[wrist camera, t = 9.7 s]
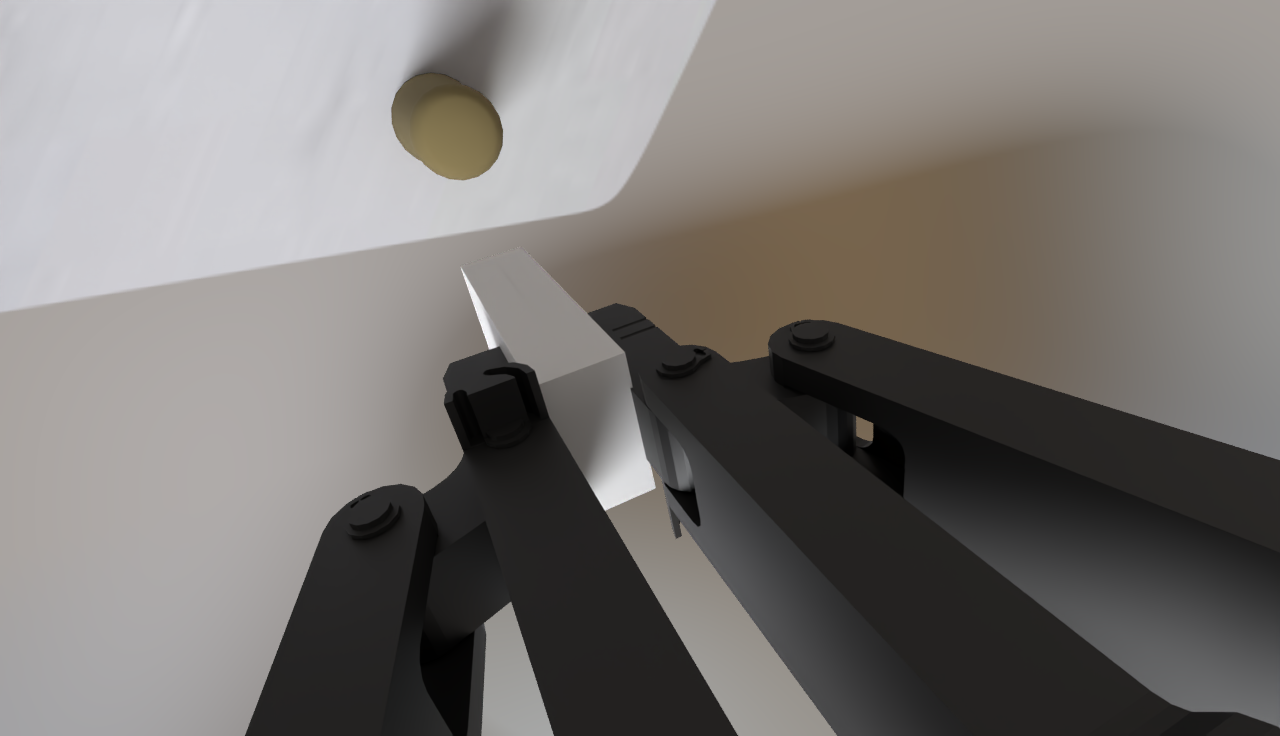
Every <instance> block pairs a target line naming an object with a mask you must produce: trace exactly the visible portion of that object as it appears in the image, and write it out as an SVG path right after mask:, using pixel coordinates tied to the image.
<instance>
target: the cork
mask: <svg viewBox="0 0 1280 736" xmlns="http://www.w3.org/2000/svg"><path fill="white" fill-rule="evenodd" d="M391 111H392V125H393V128H394V131H395V134H396V137H397V138H398V140H399V141H400V143H401V144H402V146H403V147H404V148H405V150H406V151H408V152H409V153H410V154H411V155H413V156H414V157H415V158H416V159H418V160H421V161H422V162H423V163H424V165H426V166H427V167H428V168H430V169H431V170H432V171H433V172H435V173H436V174H438V175H441V176H443V177H446V178H448V179H454V180H467V179H471V178H475V177H478V176H480V175H481V174H483V173H484V172H486V171H487V170H489V169H490V168H491V166H492V165H493V164H494V163H495V161H496V160H497V159H498V156H499V153H500V151H501V148H502V143H503V129H502V125H501V121H500V117H499V115H498V113H497V112H496V110H495V108H494V107H493V105H492V103H491V102H490V101H489V100H488V99H487V98H486V97H484V96H483V95H482V94H481V93H480V92H478V91H476V90H474V89H472V88H470V87H468V86H466V85H462V84H461V83H460V82H459V81H457V80H455V79H453V78H451V77H449V76H446V75H443V74H436V73H426V74H422V75H417V76H415V77H413V78H412V79H410V80H408V81H407V82H405V83H404V84H403V85H402V87H401V88H400V89H399V91H398V92H397V93H396V95H395V98H394V101H393V105H392V108H391Z"/></svg>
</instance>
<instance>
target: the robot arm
mask: <svg viewBox="0 0 1280 736" xmlns="http://www.w3.org/2000/svg"><path fill="white" fill-rule="evenodd" d="M461 270H462V272H463V275H464V278H465V281H466V284H467V287H468V290H469V292H470V295H471V298H472V301H473V303H474V306H475V310H476V312H477V315H478V318H479V321H480V324H481V327H482V330H483V332H484V335H485V338H486V341H487V344H488V347H489V350H487V351H484V352H481V353H479V354H476V355H473V356H470V357H467V358H465V359H462V360H459V361H456V362H453V363H451V364H450V365H449V367H448V369H447V371H446V373H445V375H444V377H443V380H444V383H445V386H446V390H447V393H446V394H445V399H444V405H445V408H446V410H447V413H448V415H449V418H450V420H451V422H452V425H453V427H454V429H455V432H456V434H457V437H458V439H459V442H460V444H461V446H462V449H463V452H464V454H463V458H462V460H461V462H460V463H459V465H458V466H457V468H456V469H455V470H454V471H453V472H452V473H451V474H450V475H449V476H448V477H447V478H446V479H445V480H443V481H442V482H441V483H439V484H438V485H437V486H435V487H434V488H432V489H431V490H429V491H428V492H426V493H424V494H422V493H421V492H420V491H419V490H417V488H415V487H413V486H408V485H402V484H398V485H390V486H383V487H380V488H377V489H375V490H372V491H369V492H366V493H364V494H362V495H360V496H358V497H357V498H355V499H354V500H352V501H350V502H349V503H348V504H346V505H345V506H344V507H343V508H342V509H341V510H340V511H338V512H337V513H336V514H335V515H334V516H333V517H332V518H331V520H330V521H329V523H328V524H327V526H326V528H325V529H324V531H323V533H322V535H321V538H320V541H319V543H318V546H317V548H316V551H315V554H314V556H313V559H312V562H311V564H310V567H309V570H308V572H307V575H306V578H305V580H304V582H303V585H302V588H301V591H300V593H299V596H298V598H297V601H296V604H295V606H294V609H293V612H292V614H291V617H290V619H289V622H288V624H287V627H286V630H285V632H284V636H283V638H282V640H281V643H280V645H279V648H278V651H277V654H276V656H275V659H274V661H273V664H272V666H271V669H270V672H269V674H268V677H267V680H266V682H265V685H264V687H263V690H262V693H261V695H260V698H259V700H258V703H257V706H256V708H255V711H254V714H253V716H252V719H251V722H250V724H249V727H248V729H247V732H246V735H245V736H481V729H482V710H483V690H484V669H485V649H486V648H485V647H486V631H485V626H484V622H486V621H487V620H488V619H489V618H491V617H492V616H493V615H494V614H496V613H497V612H498V611H499V610H500V609H502V608H503V607H504V606H505V605H507V604H508V603H509V602H512V605H513V608H514V611H515V615H516V618H517V621H518V624H519V627H520V630H521V634H522V637H523V640H524V643H525V646H526V649H527V652H528V655H529V659H530V662H531V665H532V668H533V671H534V674H535V677H536V680H537V684H538V687H539V690H540V693H541V696H542V699H543V702H544V706H545V709H546V712H547V715H548V718H549V721H550V724H551V728H552V731H553V734H554V736H738V735H737V733H736V732H735V730H734V728H733V727H732V725H731V723H730V722H729V720H728V718H727V717H726V715H725V713H724V711H723V710H722V708H721V707H720V705H719V703H718V701H717V700H716V698H715V696H714V694H713V693H712V691H711V689H710V688H709V686H708V684H707V683H706V681H705V679H704V677H703V676H702V674H701V672H700V671H699V669H698V667H697V666H696V664H695V662H694V661H693V659H692V657H691V656H690V654H689V652H688V650H687V649H686V647H685V645H684V644H683V642H682V640H681V639H680V637H679V635H678V634H677V632H676V630H675V629H674V627H673V625H672V623H671V622H670V620H669V618H668V617H667V615H666V613H665V612H664V610H663V608H662V607H661V605H660V603H659V602H658V600H657V598H656V596H655V595H654V593H653V591H652V590H651V588H650V586H649V585H648V583H647V581H646V579H645V578H644V576H643V574H642V573H641V571H640V569H639V568H638V566H637V564H636V563H635V561H634V559H633V558H632V556H631V554H630V553H629V551H628V549H627V547H626V546H625V544H624V542H623V541H622V539H621V537H620V536H619V534H618V532H617V530H616V529H615V527H614V525H613V524H612V522H611V520H610V519H609V517H608V515H607V514H606V512H605V510H607V509H609V508H612V507H614V506H616V505H619V504H621V503H623V502H625V501H628V500H630V499H632V498H634V497H637V496H639V495H641V494H643V493H646V492H648V491H650V490H652V489H655V484H654V480H653V475H652V470H651V466H650V464H651V465H652V467H653V468H654V469H655V471H656V472H657V473H658V474H659V476H660V477H661V479H662V483H663V488H664V492H665V497H666V502H667V506H668V511H669V515H670V520H671V525H672V529H673V532H674V534H675V537H676V538H678V537H681V536H682V535H681V530H680V525H679V524H680V521H681V523H682V524H683V525H684V527H685V528H686V529H687V531H688V532H689V534H690V535H691V536H692V538H693V539H694V540H695V542H696V543H697V545H698V546H699V547H700V549H701V550H702V551H703V553H704V554H705V556H706V557H707V558H708V560H709V561H710V562H711V564H712V565H713V566H714V568H715V569H716V571H717V572H718V573H719V575H720V576H721V577H722V579H723V580H724V582H725V583H726V584H727V586H728V587H729V588H730V589H731V591H732V592H733V594H734V595H735V597H736V598H737V599H738V601H739V602H740V603H741V605H742V606H743V607H744V609H745V610H746V612H747V613H748V614H749V615H750V617H751V618H752V620H753V621H754V623H755V624H756V625H757V626H758V628H759V629H760V631H761V632H762V633H763V635H764V636H765V637H766V639H767V640H768V642H769V643H770V644H771V646H772V647H773V648H774V650H775V651H776V653H777V654H778V655H779V657H780V658H781V659H782V661H783V662H784V663H785V665H786V666H787V667H788V669H789V670H790V672H791V673H792V674H793V676H794V677H795V678H796V680H797V681H798V682H799V684H800V685H801V687H802V688H803V689H804V691H805V692H806V694H807V695H808V696H809V698H810V699H811V700H812V702H813V703H814V704H815V706H816V707H817V709H818V710H819V711H820V713H821V714H822V715H823V717H824V718H825V719H826V721H827V722H828V724H829V725H830V726H831V728H832V729H833V730H834V732H835V733H836V734H837V736H1280V460H1277V459H1274V458H1271V457H1267V456H1264V455H1261V454H1258V453H1254V452H1251V451H1248V450H1245V449H1241V448H1238V447H1235V446H1232V445H1229V444H1226V443H1222V442H1219V441H1216V440H1212V439H1209V438H1206V437H1203V436H1200V435H1197V434H1193V433H1190V432H1187V431H1183V430H1180V429H1177V428H1174V427H1170V426H1167V425H1164V424H1161V423H1158V422H1155V421H1151V420H1148V419H1145V418H1142V417H1138V416H1135V415H1132V414H1129V413H1126V412H1122V411H1119V410H1116V409H1113V408H1110V407H1106V406H1103V405H1100V404H1097V403H1093V402H1090V401H1087V400H1084V399H1081V398H1078V397H1074V396H1071V395H1068V394H1065V393H1061V392H1058V391H1055V390H1052V389H1049V388H1045V387H1042V386H1039V385H1035V384H1032V383H1029V382H1026V381H1023V380H1020V379H1016V378H1013V377H1010V376H1007V375H1003V374H1000V373H997V372H993V371H990V370H987V369H984V368H981V367H978V366H974V365H971V364H968V363H965V362H962V361H959V360H955V359H952V358H949V357H946V356H942V355H939V354H936V353H933V352H929V351H926V350H923V349H920V348H916V347H913V346H910V345H907V344H904V343H901V342H897V341H894V340H891V339H888V338H885V337H881V336H878V335H875V334H871V333H868V332H865V331H862V330H859V329H855V328H852V327H849V326H846V325H843V324H839V323H835V322H830V321H824V320H802V321H801V322H799V321H797V322H794V323H791V324H789V325H786V326H784V327H782V328H780V329H778V330H777V331H776V332H775V333H773V334H772V335H771V336H770V339H769V342H768V349H769V356H767V357H763V358H757V359H752V360H747V361H740V362H733V363H730V362H729V361H727V360H726V359H725V358H723V357H722V356H721V355H720V354H718V353H717V352H715V351H713V350H711V349H709V348H707V347H703V346H696V345H683V346H679V345H678V344H677V343H676V342H675V341H673V340H672V339H671V338H670V337H669V336H667V335H666V334H665V333H664V332H663V331H662V330H660V329H659V328H658V327H655V325H654V324H653V323H652V322H651V321H650V320H648V319H646V317H645V316H643V315H642V314H641V313H640V312H639V311H638V310H636V309H635V308H633V307H628V306H625V305H621V304H617V303H615V304H612V305H610V306H607V307H604V308H601V309H599V310H595V311H593V312H590V313H586V312H585V311H584V310H583V309H582V308H581V307H580V306H579V305H578V304H577V303H576V302H575V301H574V300H573V299H572V298H571V297H570V296H569V294H567V292H565V290H564V289H563V288H562V287H561V286H560V285H559V284H558V283H557V282H556V281H555V280H554V279H553V278H552V277H551V276H550V275H549V274H548V273H547V272H546V271H545V270H544V269H543V268H542V267H541V266H540V265H539V264H538V263H537V262H536V261H535V260H534V259H533V258H532V257H531V256H530V254H529V253H527V251H526V250H525V249H524V248H523V247H518V248H515V249H512V250H509V251H506V252H503V253H499V254H496V255H493V256H489V257H486V258H483V259H480V260H477V261H474V262H470V263H467V264H464V265H461ZM856 416H858V417H860V418H863V419H865V420H867V421H869V422H872V423H873V441H867V440H863V439H861V438H859V437H857V436H856Z"/></svg>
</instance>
